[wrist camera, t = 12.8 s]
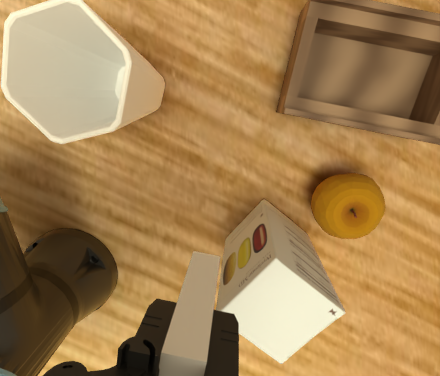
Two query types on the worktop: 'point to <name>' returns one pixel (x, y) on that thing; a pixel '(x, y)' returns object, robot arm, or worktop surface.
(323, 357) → the worktop surface
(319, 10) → the box
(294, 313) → the supplement box
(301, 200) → the worktop surface
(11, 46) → the cup
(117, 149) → the worktop surface
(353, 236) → the apple
